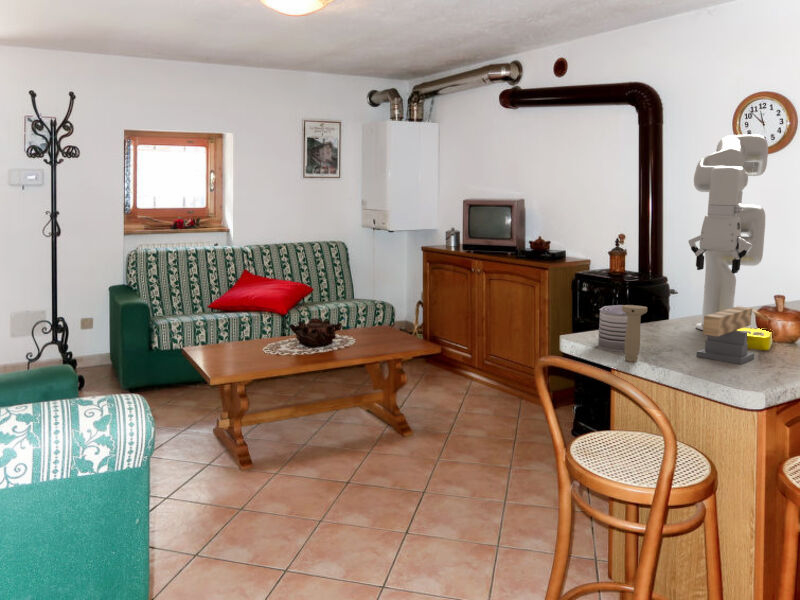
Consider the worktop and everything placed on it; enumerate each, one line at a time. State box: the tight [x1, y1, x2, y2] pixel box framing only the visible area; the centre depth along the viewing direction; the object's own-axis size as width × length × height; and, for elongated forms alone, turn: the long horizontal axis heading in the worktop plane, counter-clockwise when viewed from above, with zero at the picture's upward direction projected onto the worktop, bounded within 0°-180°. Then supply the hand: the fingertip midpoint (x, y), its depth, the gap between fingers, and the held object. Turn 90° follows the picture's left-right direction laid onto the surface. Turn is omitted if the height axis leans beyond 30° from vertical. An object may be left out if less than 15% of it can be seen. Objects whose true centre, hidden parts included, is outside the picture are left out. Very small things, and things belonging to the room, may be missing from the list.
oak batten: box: [702, 305, 753, 336], centre depth 199 cm, size 24×4×5 cm, turn 135°
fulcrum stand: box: [696, 330, 755, 365], centre depth 200 cm, size 10×12×8 cm
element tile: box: [738, 326, 773, 351], centre depth 220 cm, size 15×15×5 cm
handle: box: [622, 304, 648, 363], centre depth 194 cm, size 5×6×15 cm
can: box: [597, 304, 628, 353], centre depth 211 cm, size 11×11×12 cm
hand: (717, 271), depth 205 cm, fingers open, 9 cm apart
